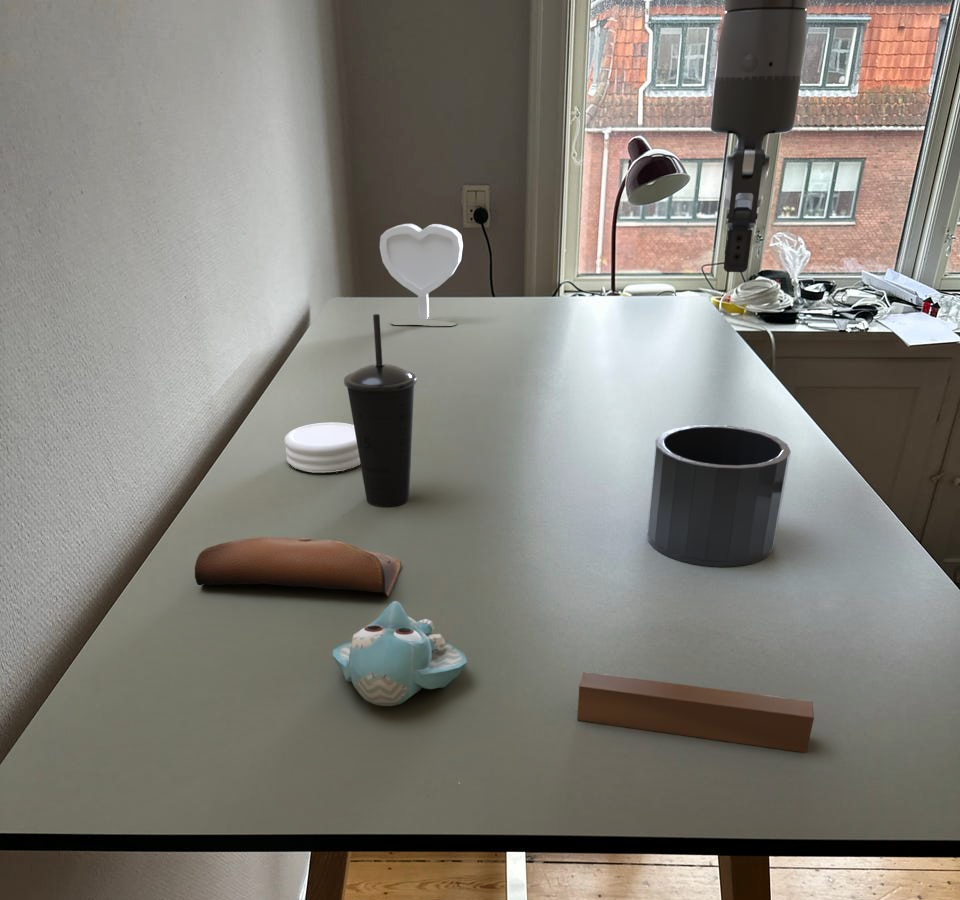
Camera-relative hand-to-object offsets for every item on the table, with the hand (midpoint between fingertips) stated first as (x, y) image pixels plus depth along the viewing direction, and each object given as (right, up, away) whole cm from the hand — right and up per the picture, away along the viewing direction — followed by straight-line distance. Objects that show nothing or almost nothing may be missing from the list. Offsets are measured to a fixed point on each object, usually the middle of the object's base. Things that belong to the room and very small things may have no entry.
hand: (735, 264), depth 91 cm
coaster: (-44, -15, +24) cm, 52 cm away
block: (-10, -44, -25) cm, 51 cm away
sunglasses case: (-42, -31, -4) cm, 53 cm away
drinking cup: (-36, -21, +13) cm, 44 cm away
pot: (-2, -27, +3) cm, 27 cm away
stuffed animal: (-32, -40, -19) cm, 55 cm away
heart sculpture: (-36, +26, +92) cm, 102 cm away
